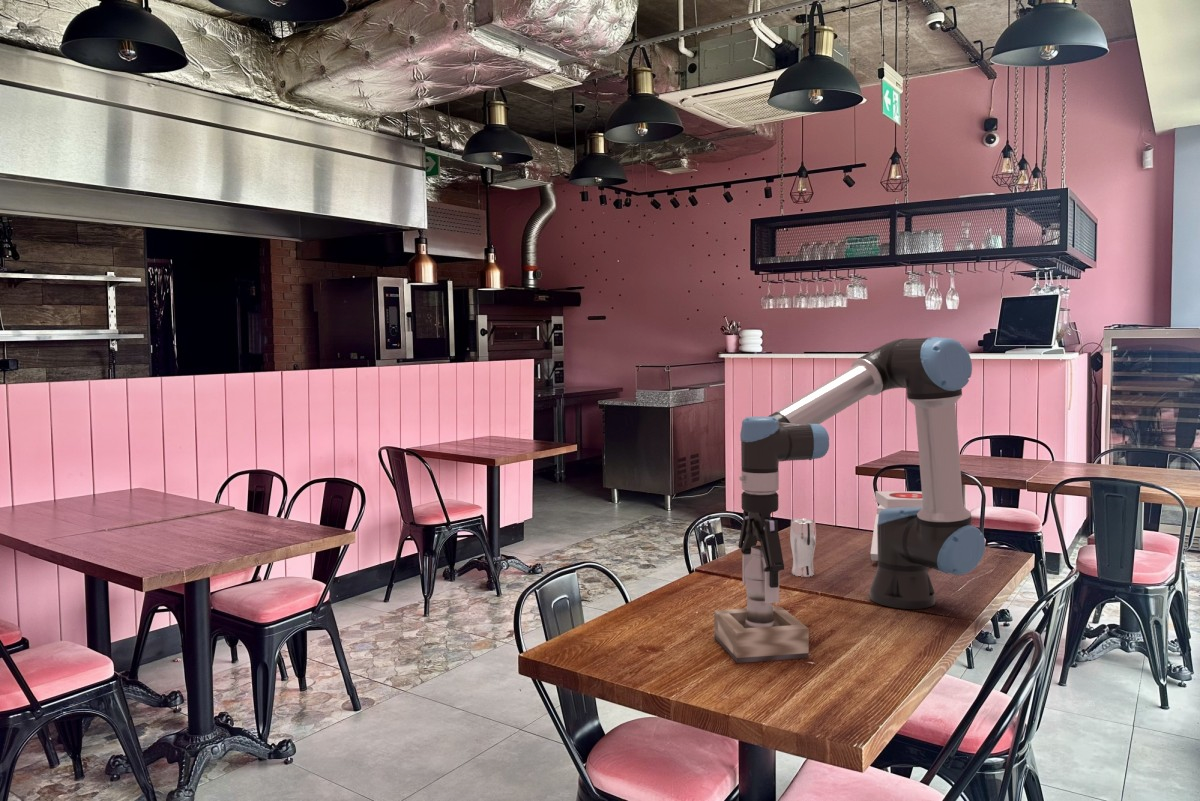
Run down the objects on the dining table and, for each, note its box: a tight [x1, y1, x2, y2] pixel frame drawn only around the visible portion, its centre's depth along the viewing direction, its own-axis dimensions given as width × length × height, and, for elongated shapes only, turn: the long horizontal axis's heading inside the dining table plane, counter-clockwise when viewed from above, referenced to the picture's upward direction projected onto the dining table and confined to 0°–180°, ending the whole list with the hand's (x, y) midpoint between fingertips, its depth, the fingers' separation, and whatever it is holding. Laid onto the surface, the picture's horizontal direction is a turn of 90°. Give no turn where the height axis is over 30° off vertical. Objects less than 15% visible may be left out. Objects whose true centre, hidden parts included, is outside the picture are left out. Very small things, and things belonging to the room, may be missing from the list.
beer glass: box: [789, 518, 817, 578], centre depth 229 cm, size 7×7×15 cm
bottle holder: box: [713, 605, 810, 664], centre depth 172 cm, size 15×15×6 cm
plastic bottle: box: [744, 544, 775, 628], centre depth 172 cm, size 6×7×20 cm
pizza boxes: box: [870, 490, 923, 562], centre depth 246 cm, size 19×30×18 cm, turn 154°
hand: (760, 593), depth 171 cm, fingers open, 13 cm apart
